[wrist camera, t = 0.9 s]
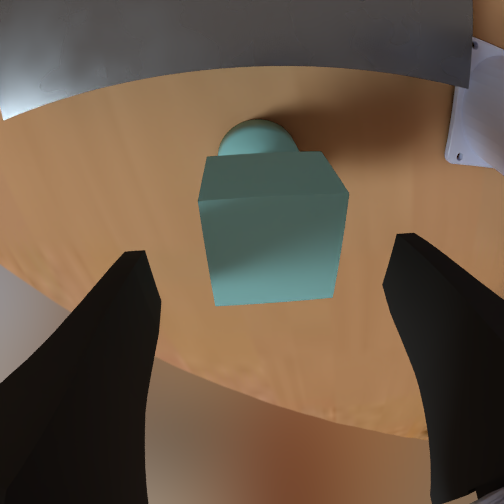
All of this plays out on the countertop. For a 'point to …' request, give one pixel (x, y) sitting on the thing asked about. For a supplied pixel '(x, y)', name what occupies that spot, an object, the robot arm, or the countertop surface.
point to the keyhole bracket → (220, 41)
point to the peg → (270, 218)
